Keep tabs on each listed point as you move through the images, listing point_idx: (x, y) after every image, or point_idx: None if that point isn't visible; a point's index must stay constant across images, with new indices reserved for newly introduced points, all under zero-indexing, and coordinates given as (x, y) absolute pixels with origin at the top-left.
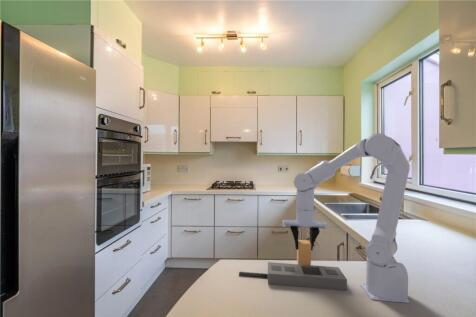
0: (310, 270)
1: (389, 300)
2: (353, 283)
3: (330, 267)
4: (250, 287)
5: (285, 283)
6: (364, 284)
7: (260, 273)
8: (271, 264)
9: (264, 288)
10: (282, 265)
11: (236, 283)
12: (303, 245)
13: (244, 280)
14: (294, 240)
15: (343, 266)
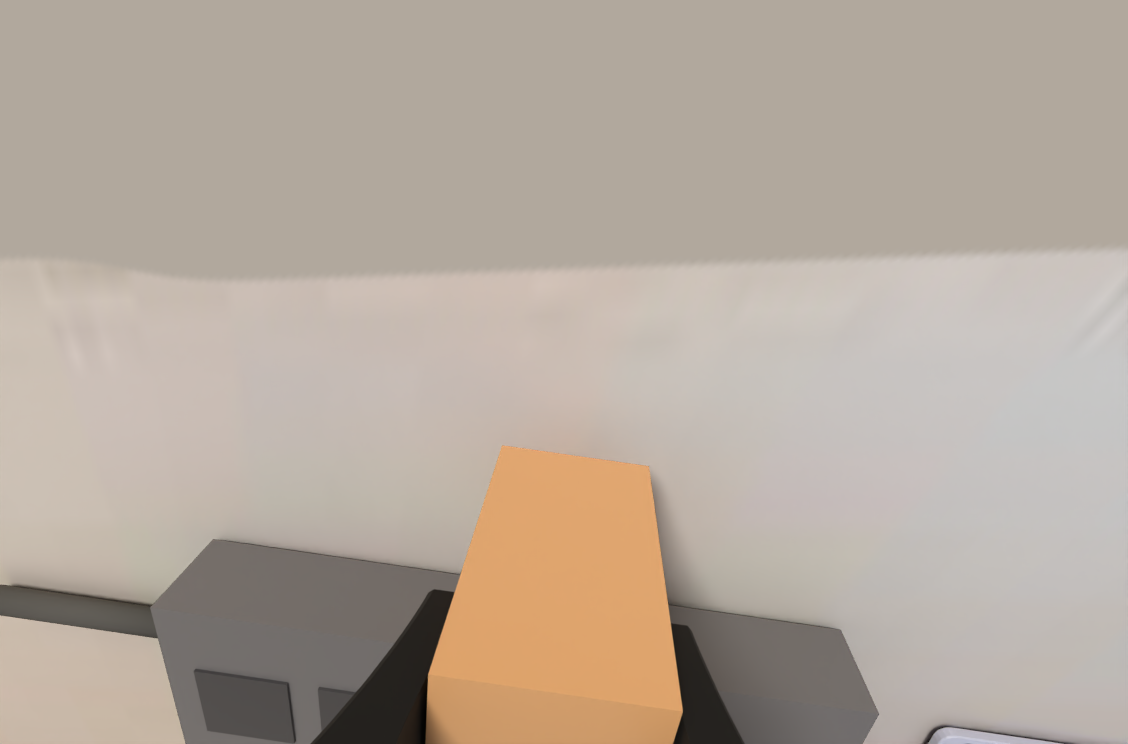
0: None
1: None
2: (904, 696)
3: (785, 714)
4: (138, 705)
5: None
6: (971, 740)
7: (149, 634)
8: (193, 650)
9: None
10: (302, 668)
11: (33, 666)
12: None
13: (70, 638)
14: (370, 679)
15: (1090, 422)
